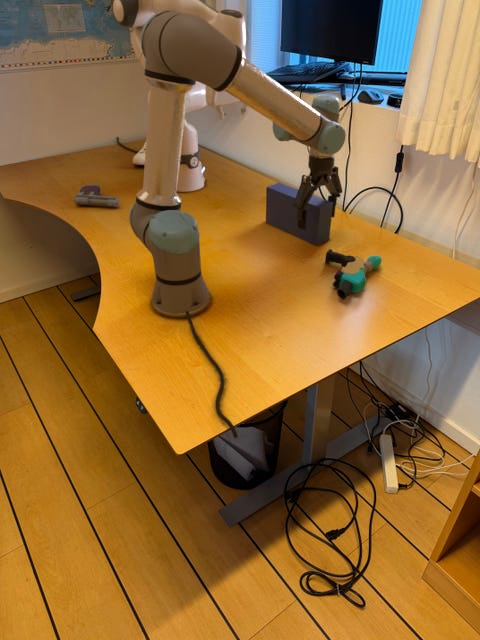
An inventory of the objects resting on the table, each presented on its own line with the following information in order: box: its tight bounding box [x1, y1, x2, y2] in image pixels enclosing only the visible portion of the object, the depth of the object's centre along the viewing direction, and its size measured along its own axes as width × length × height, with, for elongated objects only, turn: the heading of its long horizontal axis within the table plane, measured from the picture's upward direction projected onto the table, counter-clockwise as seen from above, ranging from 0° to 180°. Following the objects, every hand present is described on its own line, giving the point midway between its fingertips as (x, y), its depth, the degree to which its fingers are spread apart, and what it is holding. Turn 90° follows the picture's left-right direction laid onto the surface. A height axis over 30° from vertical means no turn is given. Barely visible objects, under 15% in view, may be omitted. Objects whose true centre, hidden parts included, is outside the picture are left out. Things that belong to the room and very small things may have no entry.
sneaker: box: [132, 141, 146, 166], centre depth 220 cm, size 10×29×12 cm, turn 163°
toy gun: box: [73, 184, 120, 208], centre depth 181 cm, size 4×19×15 cm
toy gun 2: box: [324, 248, 383, 301], centre depth 133 cm, size 4×26×15 cm
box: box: [265, 182, 333, 246], centre depth 156 cm, size 24×6×13 cm, turn 41°
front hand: (316, 222), depth 151 cm, fingers open, 13 cm apart
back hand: (233, 116), depth 160 cm, fingers open, 8 cm apart
